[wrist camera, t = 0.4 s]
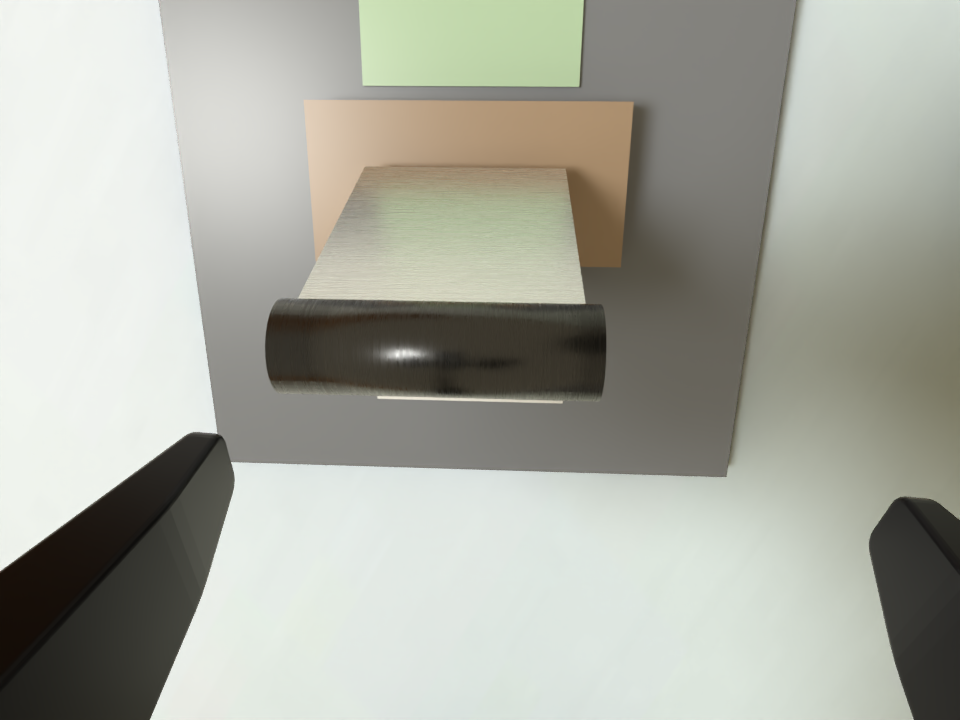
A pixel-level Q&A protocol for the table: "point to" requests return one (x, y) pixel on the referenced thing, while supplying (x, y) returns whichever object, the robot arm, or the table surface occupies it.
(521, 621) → the table surface
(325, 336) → the bench scraper
